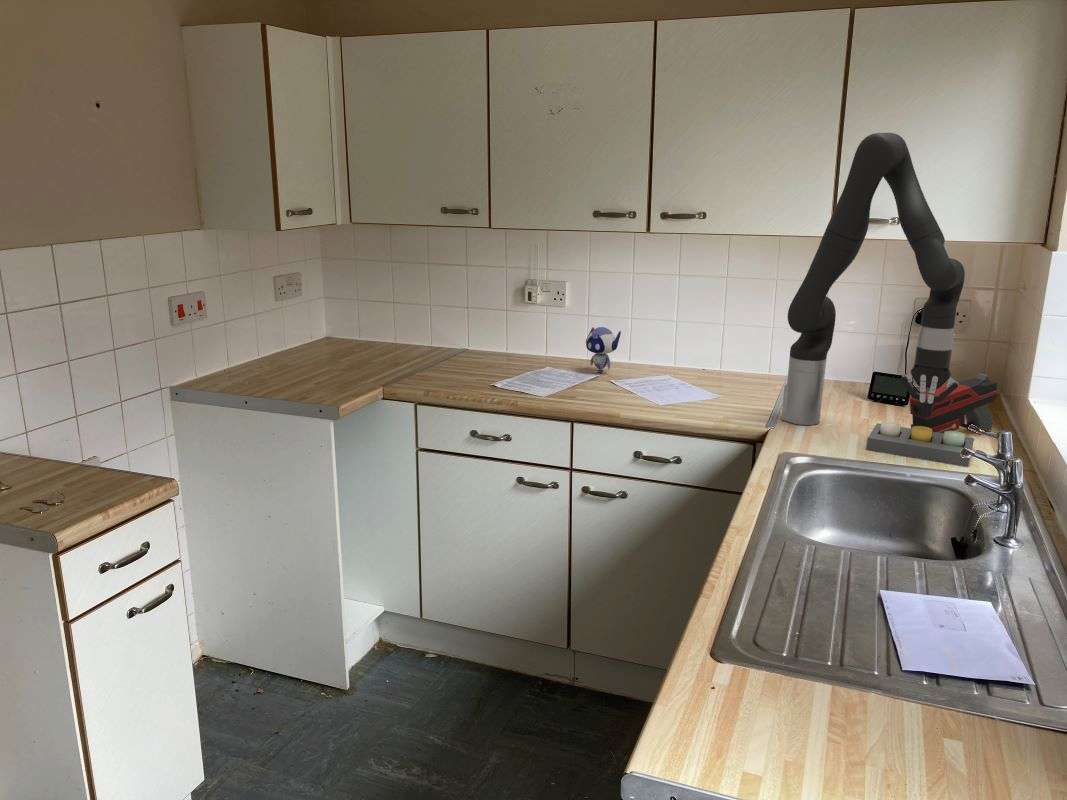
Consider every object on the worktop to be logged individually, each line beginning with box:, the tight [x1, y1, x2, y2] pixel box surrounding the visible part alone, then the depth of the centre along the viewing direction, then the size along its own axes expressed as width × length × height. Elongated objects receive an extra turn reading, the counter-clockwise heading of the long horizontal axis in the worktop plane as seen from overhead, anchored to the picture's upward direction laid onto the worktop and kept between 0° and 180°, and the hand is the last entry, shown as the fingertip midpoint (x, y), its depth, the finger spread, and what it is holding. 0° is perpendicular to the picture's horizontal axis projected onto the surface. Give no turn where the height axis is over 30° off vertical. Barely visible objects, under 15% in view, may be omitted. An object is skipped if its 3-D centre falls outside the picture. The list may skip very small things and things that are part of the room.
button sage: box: [943, 430, 966, 447], centre depth 199 cm, size 4×4×4 cm
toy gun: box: [909, 372, 1000, 433], centre depth 215 cm, size 5×24×15 cm, turn 110°
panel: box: [865, 423, 975, 467], centre depth 203 cm, size 22×14×3 cm, turn 60°
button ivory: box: [880, 420, 902, 437], centre depth 206 cm, size 4×4×4 cm
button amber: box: [911, 426, 932, 442], centre depth 203 cm, size 4×4×4 cm
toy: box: [585, 326, 622, 374], centre depth 271 cm, size 11×10×15 cm
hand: (924, 417), depth 201 cm, fingers closed
